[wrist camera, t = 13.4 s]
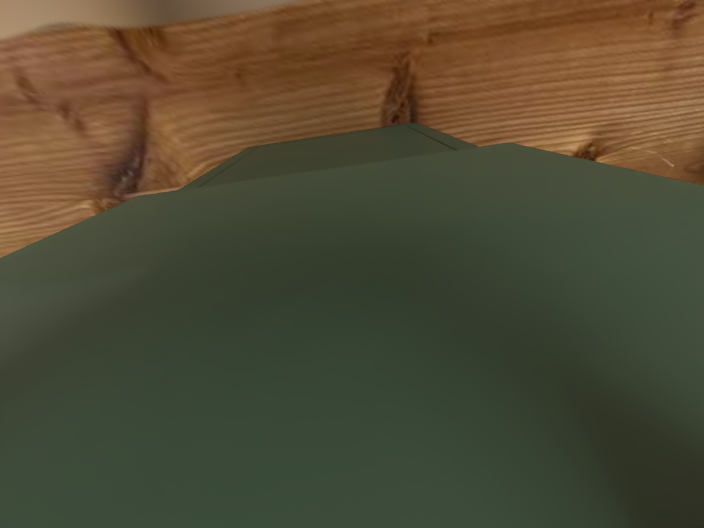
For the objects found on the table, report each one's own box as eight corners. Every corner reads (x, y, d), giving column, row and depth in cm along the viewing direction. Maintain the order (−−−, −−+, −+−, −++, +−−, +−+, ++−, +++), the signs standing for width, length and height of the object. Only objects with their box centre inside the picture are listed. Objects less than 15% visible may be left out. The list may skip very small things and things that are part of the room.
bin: (418, 277, 23) (466, 390, 14) (292, 293, 23) (264, 413, 15) (417, 122, 17) (500, 154, 8) (247, 147, 17) (153, 203, 9)
